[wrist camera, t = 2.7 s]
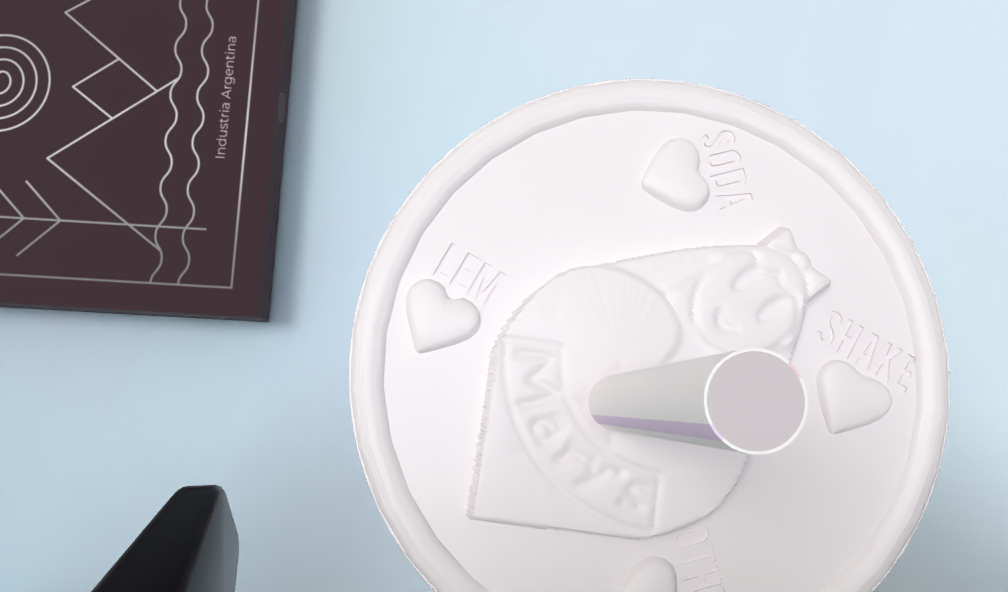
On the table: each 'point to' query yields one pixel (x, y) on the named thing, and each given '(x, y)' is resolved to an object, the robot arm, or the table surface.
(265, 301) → the chocolate bar
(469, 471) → the smoothie
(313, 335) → the table surface
